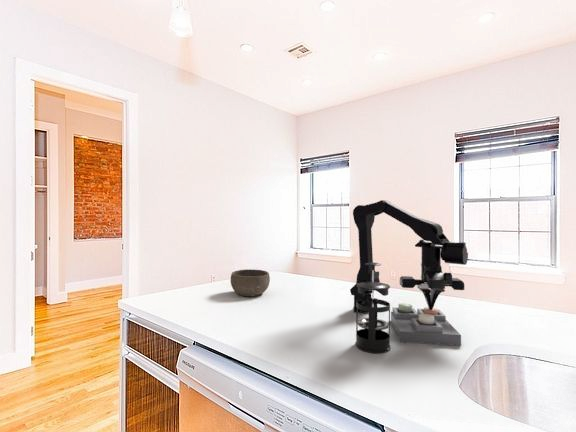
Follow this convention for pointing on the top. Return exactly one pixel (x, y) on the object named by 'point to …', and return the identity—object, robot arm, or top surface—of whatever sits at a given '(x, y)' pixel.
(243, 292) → the bowl
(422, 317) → the cream button
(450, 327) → the console
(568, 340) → the top surface
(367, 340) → the french press
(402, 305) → the sage button
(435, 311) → the terracotta button
